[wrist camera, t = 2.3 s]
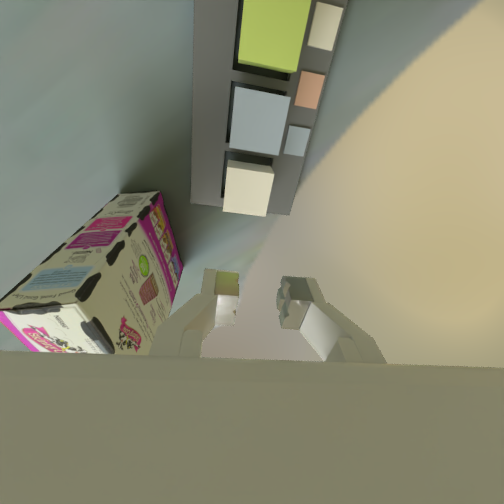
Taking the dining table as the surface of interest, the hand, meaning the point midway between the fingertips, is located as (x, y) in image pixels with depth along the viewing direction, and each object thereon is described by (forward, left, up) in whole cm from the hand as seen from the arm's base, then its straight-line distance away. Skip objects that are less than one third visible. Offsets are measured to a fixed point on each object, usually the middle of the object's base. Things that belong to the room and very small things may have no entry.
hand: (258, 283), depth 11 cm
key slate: (-5, 0, -15) cm, 16 cm away
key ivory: (0, 0, -15) cm, 15 cm away
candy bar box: (+9, -10, -17) cm, 22 cm away
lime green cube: (-11, 0, -15) cm, 19 cm away
